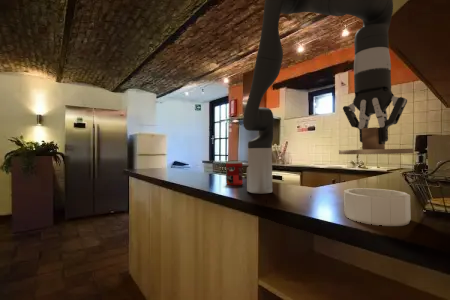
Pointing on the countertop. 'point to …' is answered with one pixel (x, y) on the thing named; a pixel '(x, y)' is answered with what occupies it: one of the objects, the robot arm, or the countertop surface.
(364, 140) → the oak lid
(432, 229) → the countertop surface
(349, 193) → the cream bowl
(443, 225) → the countertop surface
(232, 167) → the canned food
